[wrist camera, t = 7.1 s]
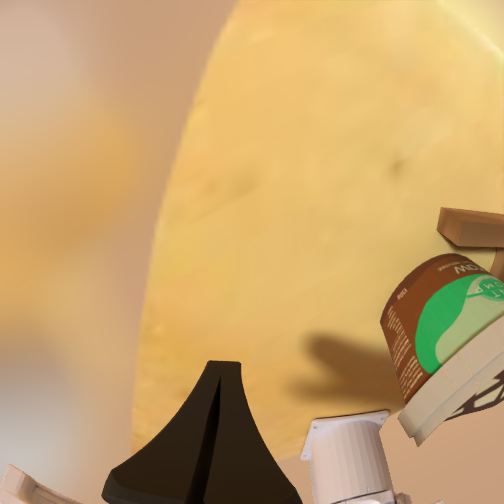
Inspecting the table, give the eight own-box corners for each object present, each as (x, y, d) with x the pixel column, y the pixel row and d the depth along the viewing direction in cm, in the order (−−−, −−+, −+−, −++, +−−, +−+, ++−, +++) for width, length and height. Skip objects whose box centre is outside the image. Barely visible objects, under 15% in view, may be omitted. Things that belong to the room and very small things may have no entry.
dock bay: (469, 341, 20) (483, 361, 17) (398, 354, 20) (410, 379, 17) (513, 216, 15) (537, 229, 12) (441, 207, 15) (466, 222, 12)
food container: (505, 234, 15) (592, 302, 6) (486, 302, 18) (550, 380, 9) (371, 241, 16) (462, 363, 7) (360, 324, 19) (408, 450, 9)
